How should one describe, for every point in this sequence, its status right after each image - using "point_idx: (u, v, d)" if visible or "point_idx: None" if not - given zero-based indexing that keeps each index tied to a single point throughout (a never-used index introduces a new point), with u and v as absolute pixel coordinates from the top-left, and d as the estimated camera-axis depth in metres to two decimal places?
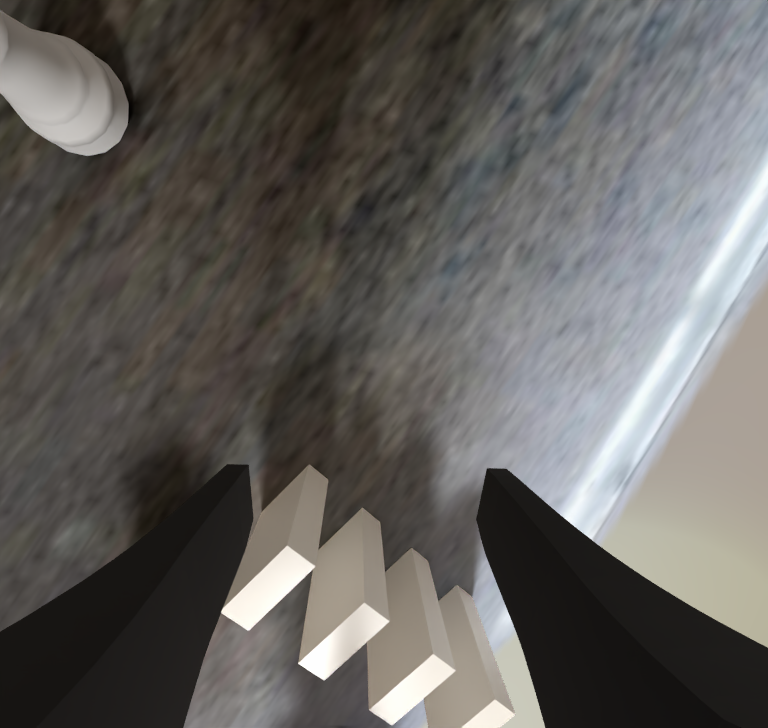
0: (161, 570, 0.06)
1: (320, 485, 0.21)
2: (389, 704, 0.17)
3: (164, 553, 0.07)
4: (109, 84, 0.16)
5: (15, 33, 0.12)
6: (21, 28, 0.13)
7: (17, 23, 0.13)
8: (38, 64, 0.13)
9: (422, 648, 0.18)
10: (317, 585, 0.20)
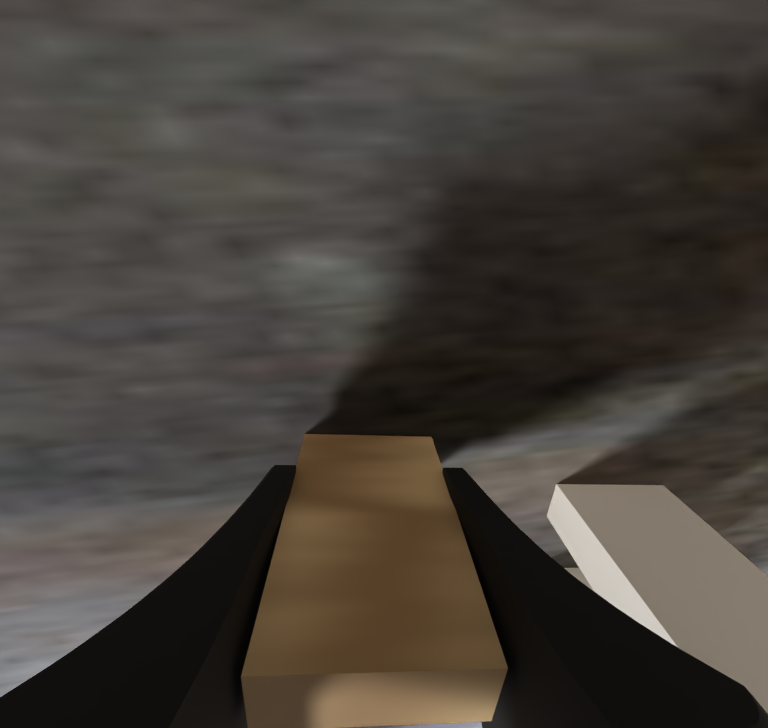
0: (237, 569, 0.07)
1: None
2: None
3: (238, 553, 0.07)
4: None
5: None
6: None
7: None
8: None
9: None
10: None
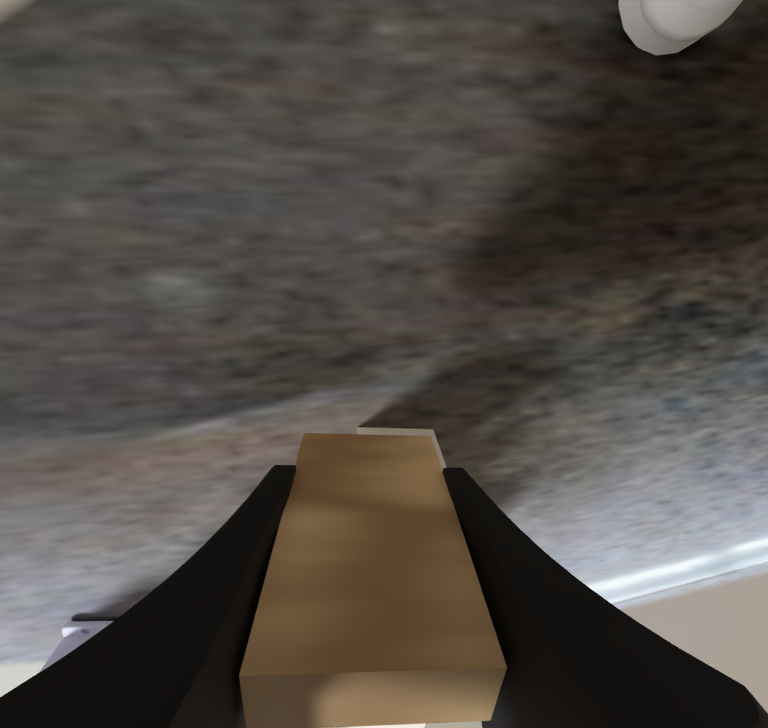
0: (237, 569, 0.07)
1: None
2: None
3: (238, 553, 0.07)
4: (729, 15, 0.13)
5: None
6: None
7: None
8: None
9: None
10: None
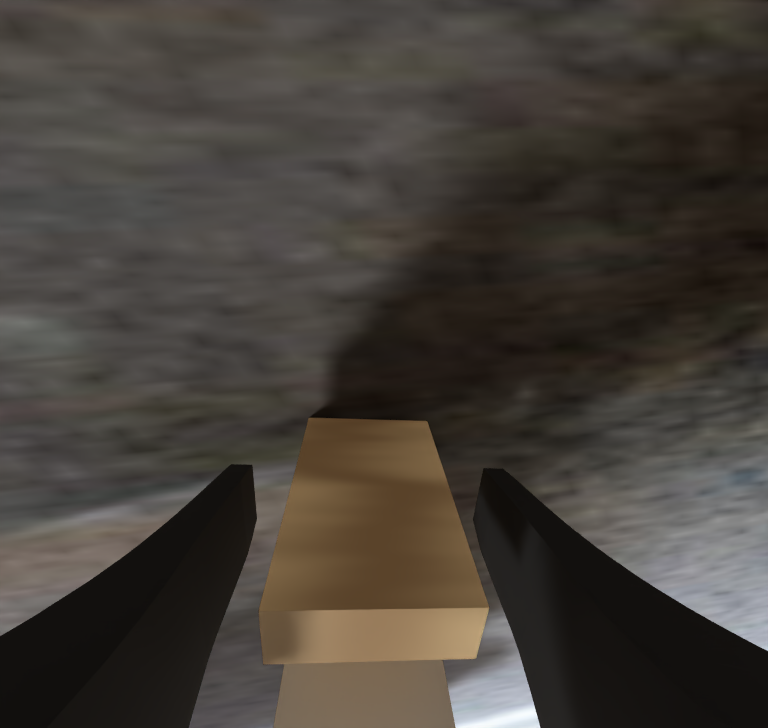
0: (167, 569, 0.06)
1: None
2: None
3: (171, 553, 0.07)
4: None
5: None
6: None
7: None
8: None
9: None
10: None
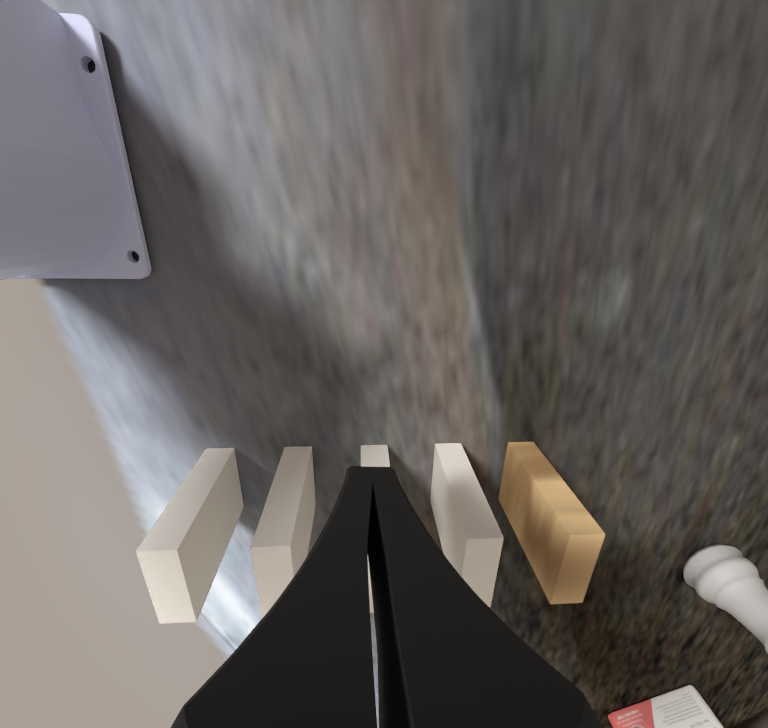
0: (356, 568, 0.07)
1: None
2: (278, 562, 0.15)
3: (353, 552, 0.07)
4: None
5: (760, 640, 0.23)
6: None
7: None
8: (745, 625, 0.23)
9: None
10: None
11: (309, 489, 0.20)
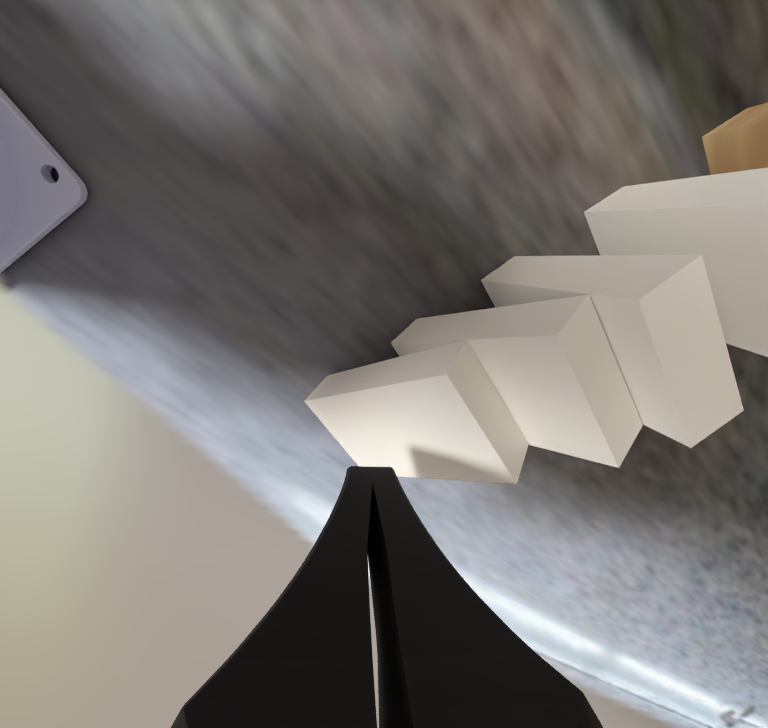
0: (356, 568, 0.07)
1: None
2: (591, 338, 0.09)
3: (353, 552, 0.07)
4: None
5: None
6: None
7: None
8: None
9: None
10: None
11: None
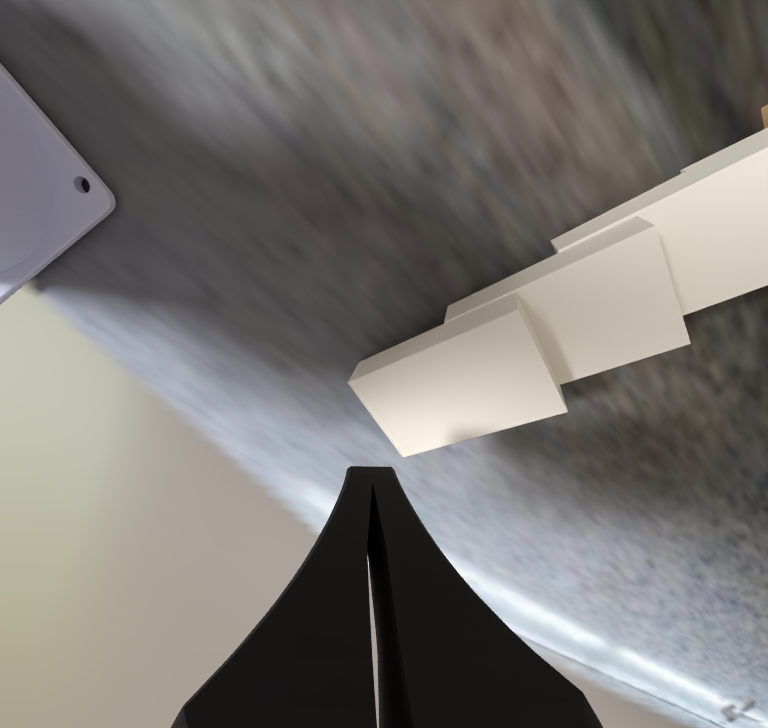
0: (356, 568, 0.07)
1: None
2: None
3: (353, 553, 0.07)
4: None
5: None
6: None
7: None
8: None
9: None
10: None
11: None
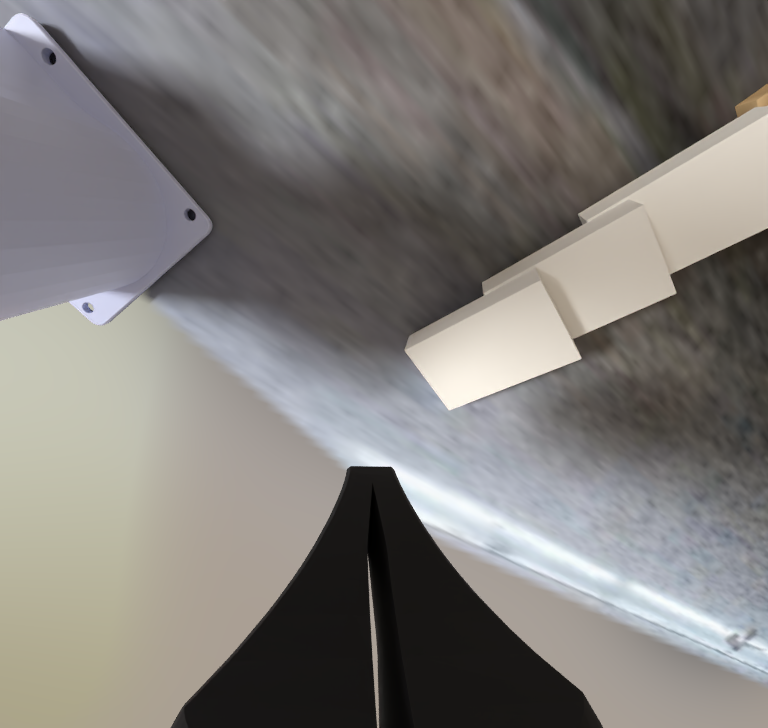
0: (356, 568, 0.07)
1: None
2: None
3: (353, 552, 0.07)
4: None
5: None
6: None
7: None
8: None
9: None
10: None
11: None
